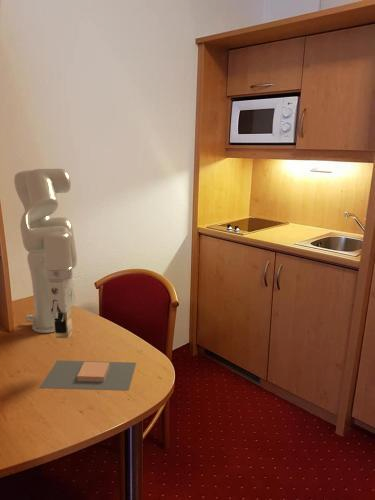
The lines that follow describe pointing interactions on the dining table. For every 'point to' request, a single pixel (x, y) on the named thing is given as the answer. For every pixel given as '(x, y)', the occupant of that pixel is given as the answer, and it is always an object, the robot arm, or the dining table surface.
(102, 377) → the tile
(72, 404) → the dining table surface
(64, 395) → the dining table surface
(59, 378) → the mat
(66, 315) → the light wood block
